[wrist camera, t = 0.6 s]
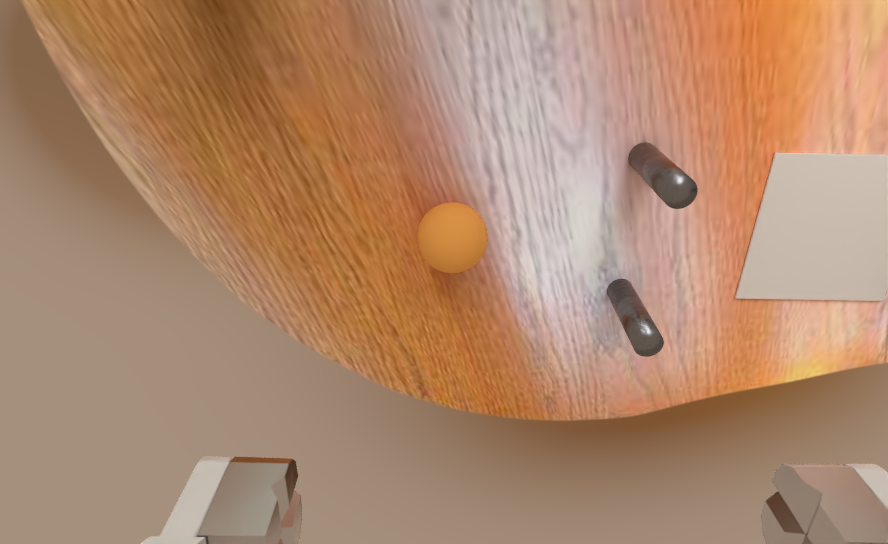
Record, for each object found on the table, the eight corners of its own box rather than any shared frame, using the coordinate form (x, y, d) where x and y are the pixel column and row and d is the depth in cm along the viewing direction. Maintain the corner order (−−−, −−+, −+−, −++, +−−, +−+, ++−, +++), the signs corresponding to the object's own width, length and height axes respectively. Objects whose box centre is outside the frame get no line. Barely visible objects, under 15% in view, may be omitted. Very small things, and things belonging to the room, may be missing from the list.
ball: (418, 191, 52) (415, 217, 47) (487, 192, 52) (491, 218, 47) (418, 253, 55) (415, 285, 49) (483, 255, 55) (487, 286, 49)
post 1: (631, 142, 50) (666, 176, 42) (659, 142, 50) (700, 176, 42) (626, 170, 51) (660, 208, 43) (654, 170, 51) (693, 209, 43)
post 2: (609, 278, 56) (636, 331, 48) (634, 279, 56) (666, 331, 48) (605, 301, 57) (631, 356, 49) (630, 301, 57) (660, 356, 49)
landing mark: (774, 152, 50) (775, 153, 50) (940, 155, 50) (942, 156, 50) (734, 297, 57) (735, 298, 57) (881, 299, 57) (883, 300, 57)
